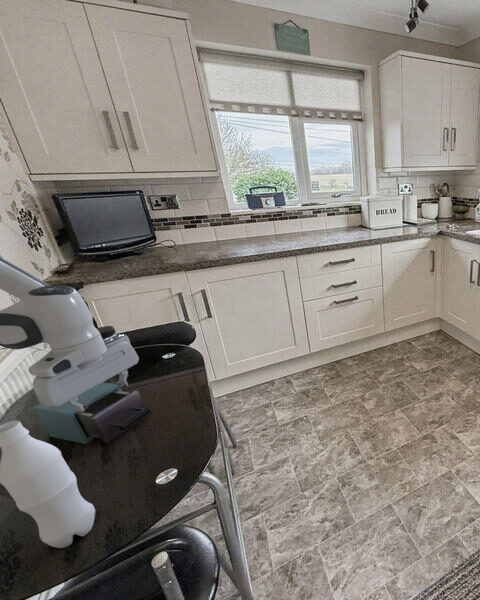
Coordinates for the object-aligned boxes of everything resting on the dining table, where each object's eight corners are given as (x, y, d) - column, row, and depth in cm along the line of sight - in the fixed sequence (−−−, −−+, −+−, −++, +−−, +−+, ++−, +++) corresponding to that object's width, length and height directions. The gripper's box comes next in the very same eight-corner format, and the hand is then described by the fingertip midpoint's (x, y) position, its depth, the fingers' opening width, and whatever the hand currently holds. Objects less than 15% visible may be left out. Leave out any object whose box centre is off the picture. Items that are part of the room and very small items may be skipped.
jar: (109, 364, 122) (95, 336, 118) (92, 363, 124) (78, 335, 120) (131, 352, 131) (119, 325, 126) (115, 351, 132) (103, 325, 128)
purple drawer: (162, 416, 89) (151, 392, 87) (121, 446, 80) (108, 421, 77) (116, 409, 94) (105, 386, 91) (73, 436, 85) (59, 412, 82)
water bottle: (76, 514, 64) (10, 412, 55) (110, 513, 64) (50, 410, 55) (37, 554, 58) (-44, 445, 49) (75, 553, 57) (0, 443, 48)
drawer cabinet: (132, 412, 94) (119, 384, 90) (85, 444, 83) (68, 413, 80) (99, 407, 98) (85, 380, 94) (50, 436, 87) (32, 407, 83)
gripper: (116, 330, 89) (135, 373, 94) (18, 373, 70) (48, 423, 75) (133, 331, 87) (152, 375, 92) (37, 375, 69) (66, 427, 74)
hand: (104, 397), depth 83 cm, fingers open, 8 cm apart
